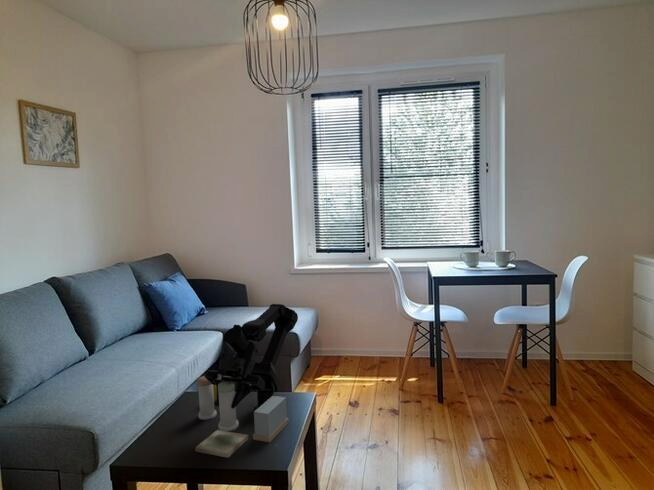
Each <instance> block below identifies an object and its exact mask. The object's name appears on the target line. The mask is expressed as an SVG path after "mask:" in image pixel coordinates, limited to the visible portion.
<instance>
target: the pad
mask: <svg viewBox="0 0 654 490" xmlns="http://www.w3.org/2000/svg"><path fill="white" fill-rule="evenodd" d="M248 440H249V434H245V433H239V432H232V431H222V430H220V429H217V430H215V431H214V432H212V434H210V435H208V436H207V437H206V438H205V439H204V440H203V441H201V442H200V443H199V444H198V445H197V446H196V447H194V449H195V450H194V451H195V452H196V453H200V454H207V455H212V456H217V457H222V458H227V459H228V458H230V457H231V456H232V455H233V454H234V453H235V452H236V451H237V450H238V449H239V448H240V447H241V446H242V445H243V444H245V442H247V441H248Z"/></svg>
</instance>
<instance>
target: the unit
mask: <svg viewBox="0 0 654 490" xmlns="http://www.w3.org/2000/svg"><path fill="white" fill-rule="evenodd" d="M287 410H288V409H287V397H285V396H278V395H277V396H276V395H274V396H272V397H271V398H269V399H268V400H267V401H266V402H265V403H264V404H262V405H261V406H260V407H259V408H258V409H254V410H253V419H254V421H253V422H254V433H253V434H252V438H253V439H252V440H254V441H260V442H264V443H271V442H272V441H273V440H274V439H275V438H276V437H277V435H279V434H280V432H282V431H283V429H284V428H286V427H287V425H288V424H289V423H290V418H289V417H288V415H287V413H288V412H287Z"/></svg>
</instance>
